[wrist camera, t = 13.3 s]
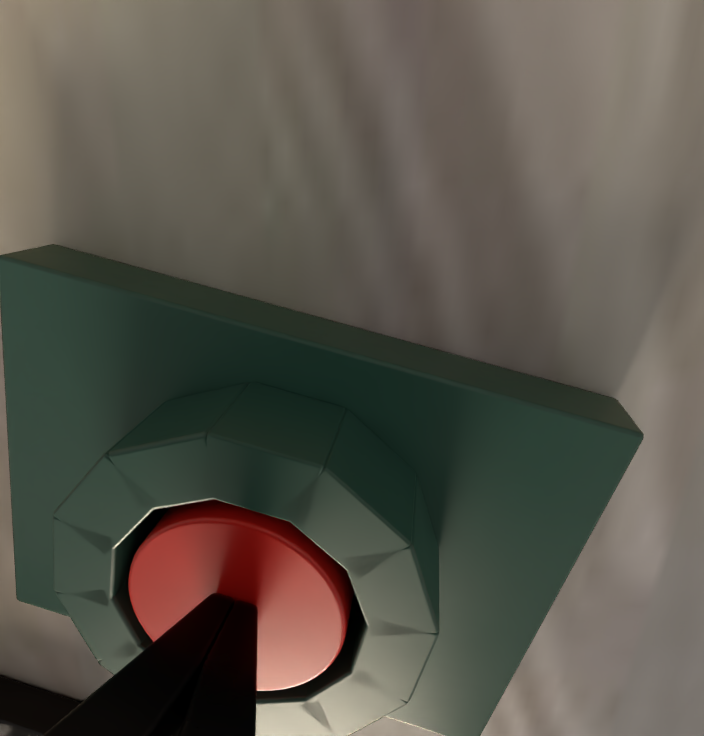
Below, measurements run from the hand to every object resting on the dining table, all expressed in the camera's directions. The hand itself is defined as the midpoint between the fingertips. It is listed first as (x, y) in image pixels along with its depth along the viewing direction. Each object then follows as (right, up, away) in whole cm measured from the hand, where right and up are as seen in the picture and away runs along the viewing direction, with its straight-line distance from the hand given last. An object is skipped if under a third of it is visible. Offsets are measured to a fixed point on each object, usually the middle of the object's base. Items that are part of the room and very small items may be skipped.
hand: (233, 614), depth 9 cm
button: (0, +1, +2) cm, 2 cm away
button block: (+1, +1, +3) cm, 4 cm away
